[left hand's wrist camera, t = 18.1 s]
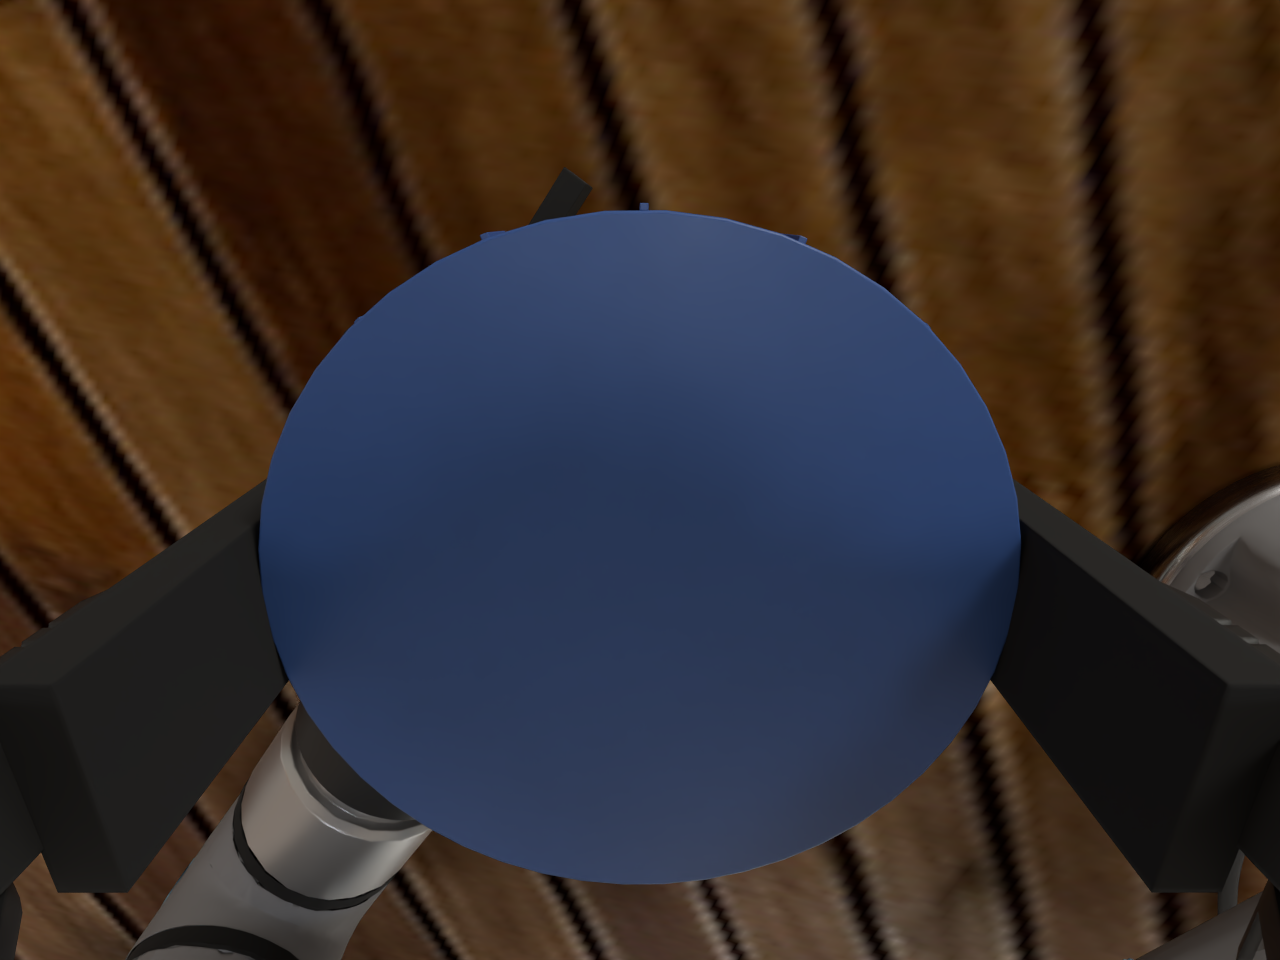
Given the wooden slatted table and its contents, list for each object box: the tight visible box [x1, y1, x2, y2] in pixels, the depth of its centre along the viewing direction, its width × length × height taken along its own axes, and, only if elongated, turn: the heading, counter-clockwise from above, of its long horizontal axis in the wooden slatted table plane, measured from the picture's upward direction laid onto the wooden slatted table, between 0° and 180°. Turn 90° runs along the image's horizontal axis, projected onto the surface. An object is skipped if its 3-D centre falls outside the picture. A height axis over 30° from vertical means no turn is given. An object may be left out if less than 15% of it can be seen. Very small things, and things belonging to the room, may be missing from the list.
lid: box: [258, 203, 1021, 884], centre depth 11 cm, size 11×11×2 cm
